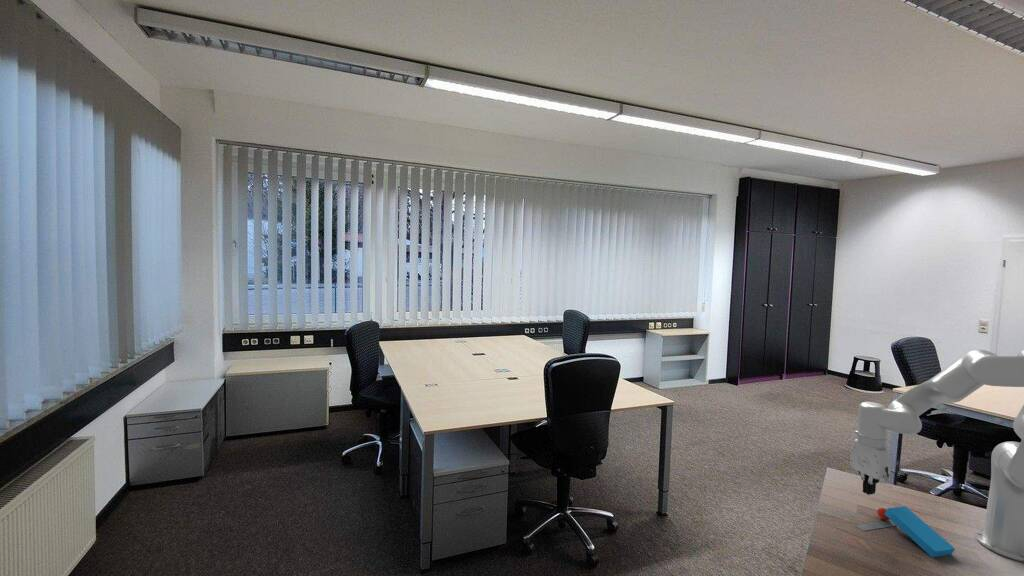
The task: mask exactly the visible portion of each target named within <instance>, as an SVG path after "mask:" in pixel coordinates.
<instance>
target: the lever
mask: <svg viewBox="0 0 1024 576" xmlns="http://www.w3.org/2000/svg"><path fill="white" fill-rule="evenodd" d="M876 513H877V515H878V517H879V518H880V519H881V520H883V521H887V520H892V521H893V522H894V523H895V524H896V525H897V527H898V528H899V529H900V530H901V531H902V532H904V533H905V534H906V535H907V536H908V537H909V538H910V539H911V540H912V541H914V543H916V544H917V545H918V546H919V547H920V548H921V549H922V550H923V551H925V552H926V554H928V555H929V557H931V558H936V557H937V558H938V557H944V556H952V555H953V553H954V551H955V549H956V548H955V547H953V545H952V544H950V542H948V541H947V540H946V539H944V537H942V536H941V535H940V534H939V533H938V532H936V531H935V530H934V529H933V528H932V527H930V525H928V524H927V523H926V522H925V521H924V520H922V519H921V518H920V517H919V516H918V515H916V514H915V513H914V512H913V511H912V510H911V509H910V508H908V507H907V506H895V507H887V508H884V507H880V508H878V509H877V511H876Z"/></svg>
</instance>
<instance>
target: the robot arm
mask: <svg viewBox="0 0 1024 576" xmlns="http://www.w3.org/2000/svg"><path fill="white" fill-rule="evenodd" d="M984 385H985V386H990V387H1005V388H1009V387H1011V388H1014V387H1015V388H1024V348H1023V349H1021V350H1020V351H1019V352H1018V353H1017V355H1014V356H1013V355H1012V356H1010V355H1009V356H1008V355H1003V356H1002V355H997V354H996V353H993V352H991V351H988V350H986V349H973V350H970V351H968V352H965V353H964V354H962V355H961V356H960V357H958V358H957V359H955V360H954V361H953V362H952V363H950V364H949V365H948V366H947V367H945V368H944V369H942V370H941V371H939V373H937V374H935V375H934V376H933V377H931V378H930V379H928V380H926V381H924V382H922V383H920V384H917V385H916V386H914V387H913V386H912V387H911V388H910V389H908V390H907V391H905V392H904V393H902V394H901V395H899V396H898V397H897V398H896V399H894V400H893V401H892V402H891V403H889V404H888V406H886V405H883V404H881V403H878V402H873V401H862V402H860V403H859V405H858V410H857V411H858V412H857V413H858V414H857V415H858V418H857V430H855V431H854V435H856V436H857V437H856V438H855V439H854V440H853V443H852V446H851V451H850V458H849V465H850V467H851V468H852V469H854V470H855V471H856V472H858V474H859V475H860V479H861V481H862V493H864V494H866V495H868V496H871V495H874V494H876V491H877V489H876V487H877V484H878V483H879V484H883V485H886V484H889V479H890V475H891V459H890V458H891V457H890V452H889V448H887V445H888V442H887V441H888V431H891V432H895V433H898V434H902V435H907V436H913V435H917V434H918V433H920V432H921V431H922V428H923V424H922V420H921V419H920V416H921V415H923V414H924V413H925V412H927V411H929V410H930V409H932V408H934V407H936V406H938V405H942V404H954V403H959V402H961V401H963V400H964V399H966V398H968V396H970V395H972V394H973V393H975V392H977V390H978V389H980V388H981V387H983V386H984ZM1012 428H1013V431H1014V432H1015V434H1016V435H1017V436H1018V437H1019V438H1020V439H1021V441H1020V442H1019V441H1013V440H1012V441H1004V442H1001V443H999V444H997V445H996V446H994V448H993V450H992V452H991V455H990V457H991V458H990V460H991V461H990V463H991V465H990V467H991V468H990V471H991V473H990V476H991V477H990V484H989V485H990V486H989V490H988V497H987V504H986V511H985V518H984V519H985V520H984V526H983V529H978V530H976V531H975V540H977V541H978V542H979V543H980V544H981V545H982V546H984V547H985V548H987V549H988V550H991V551H992V552H994V553H996V554H998V555H1001V556H1003V557H1006V558H1009V559H1012V560H1015V561H1020V562H1023V563H1024V404H1023V405H1022V407H1021V408H1020V410H1019V413H1017V415H1016V417H1015V419H1014V421H1013V423H1012ZM888 478H889V479H888Z"/></svg>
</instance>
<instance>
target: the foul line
mask: <svg viewBox="0 0 1024 576" xmlns="http://www.w3.org/2000/svg"><path fill="white" fill-rule="evenodd" d="M896 526H897V525H896V524H895V523H894V522H893V521H892V520H891V519H888V520H883V521H876V522H869V523H863V524H857V525H855V527H856V528H858V529H859V530H861V531H863V532H866V531H872V530H877V529H885V528H892V527H896ZM897 527H898V526H897Z"/></svg>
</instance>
